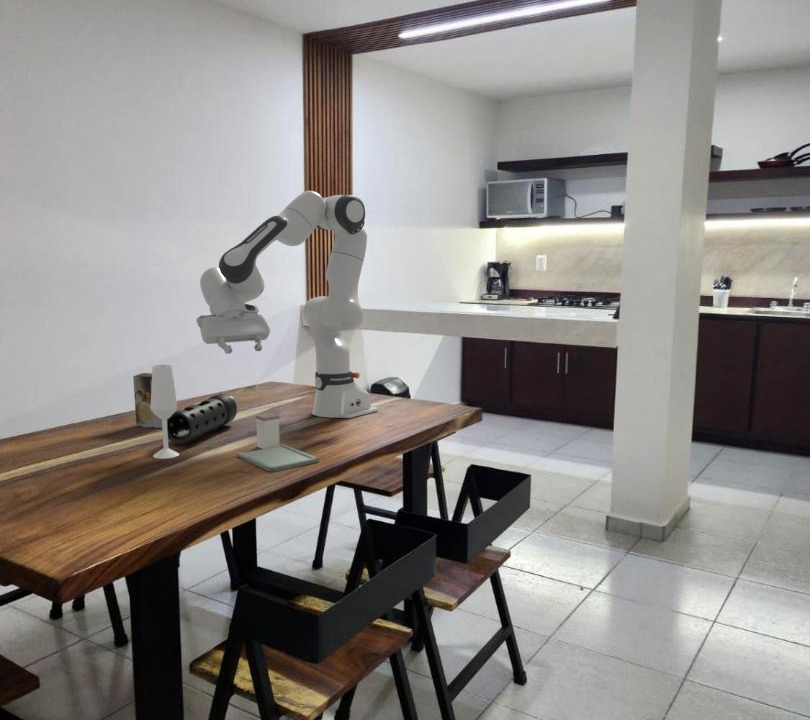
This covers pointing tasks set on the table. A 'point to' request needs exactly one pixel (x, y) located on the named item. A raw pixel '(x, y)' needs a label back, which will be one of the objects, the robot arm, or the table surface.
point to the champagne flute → (163, 403)
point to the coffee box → (144, 402)
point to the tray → (278, 458)
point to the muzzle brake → (201, 418)
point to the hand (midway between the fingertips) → (244, 351)
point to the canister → (267, 430)
